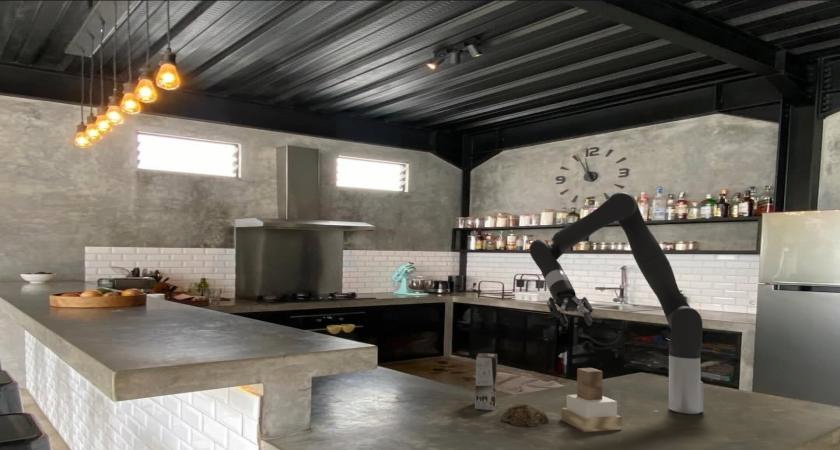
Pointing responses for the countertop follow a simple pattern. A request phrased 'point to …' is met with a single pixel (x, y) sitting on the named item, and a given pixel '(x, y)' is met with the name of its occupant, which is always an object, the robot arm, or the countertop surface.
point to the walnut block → (589, 383)
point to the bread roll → (524, 416)
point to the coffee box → (486, 381)
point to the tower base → (591, 421)
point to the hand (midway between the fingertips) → (578, 324)
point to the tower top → (592, 406)
